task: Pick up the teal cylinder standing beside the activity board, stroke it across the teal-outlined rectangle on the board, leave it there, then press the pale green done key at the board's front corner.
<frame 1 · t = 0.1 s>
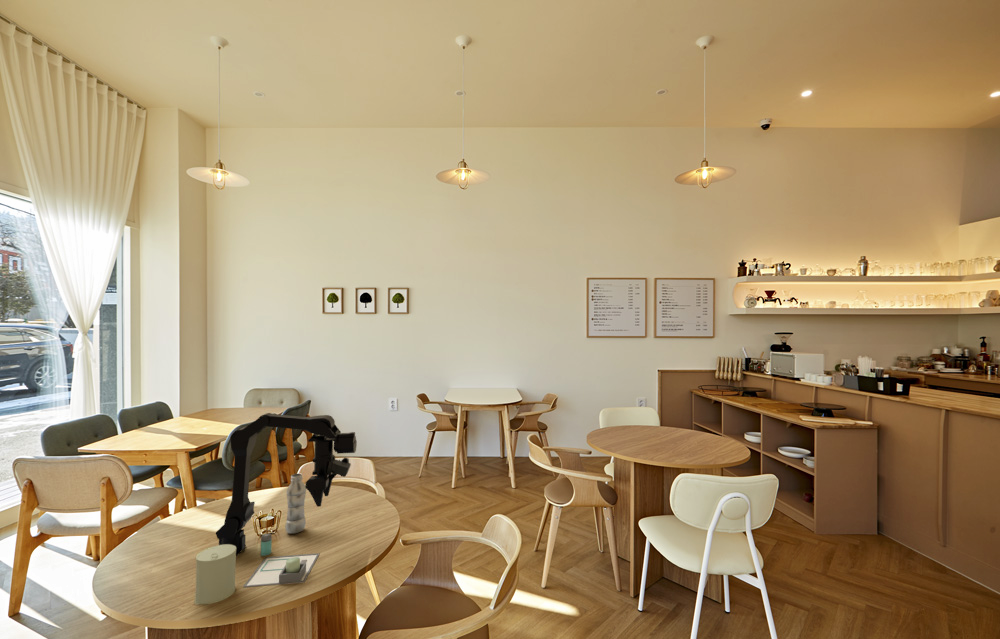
hand: (322, 501, 143), 15 cm above the table, tool pointing down, fingers open, 9 cm apart
done key: (292, 565, 122), point 4 cm above the table, slide at 0.0 cm
activity board: (283, 571, 127), on the table
teal cylinder: (266, 555, 136), on the table
plastic bottle: (295, 532, 152), on the table
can: (215, 596, 115), on the table
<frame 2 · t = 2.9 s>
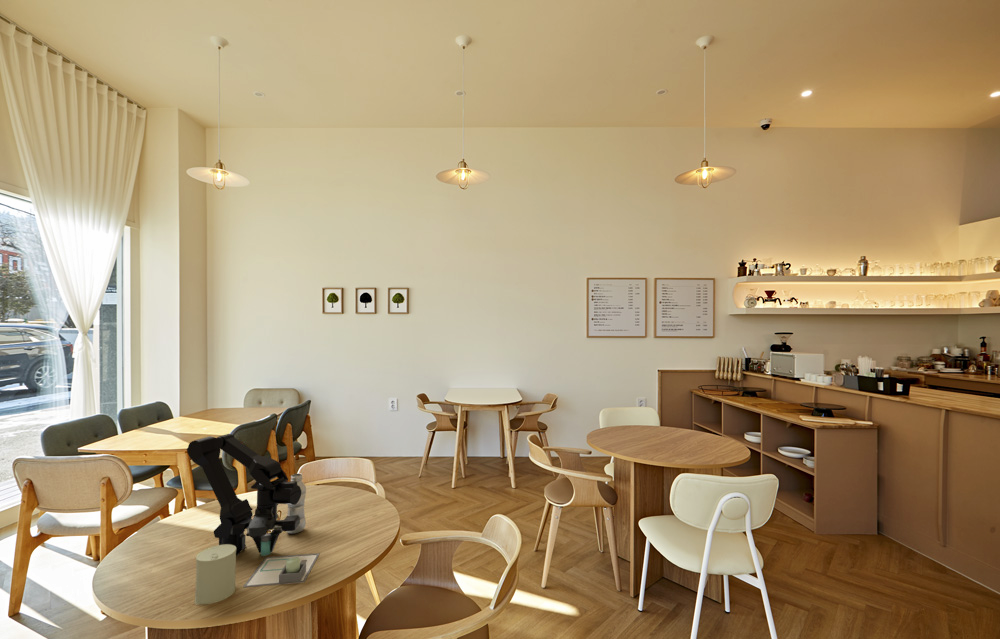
hand: (266, 551, 136), 1 cm above the table, tool pointing down, fingers closed on teal cylinder, 3 cm apart
teal cylinder: (266, 555, 136), on the table, touching gripper
everything else where it was.
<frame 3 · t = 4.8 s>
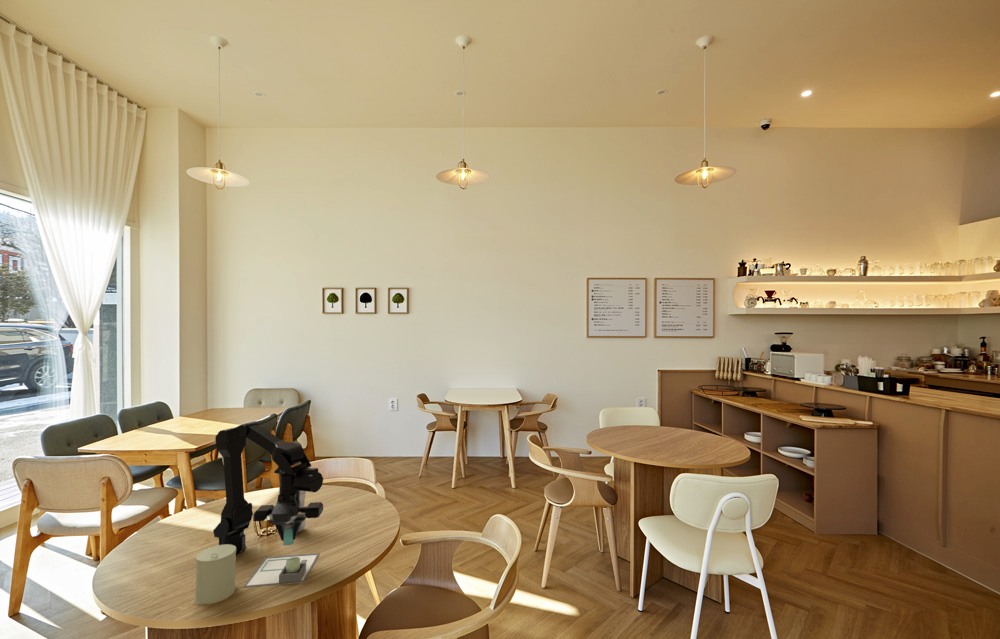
hand: (288, 539, 131), 7 cm above the table, tool pointing down, fingers closed on teal cylinder, 3 cm apart
teal cylinder: (288, 543, 131), point 6 cm above the table, touching gripper
everything else where it was.
when the fingers open (2 cm above the table, at t = 6.7 s): teal cylinder stays where it is, resting on activity board.
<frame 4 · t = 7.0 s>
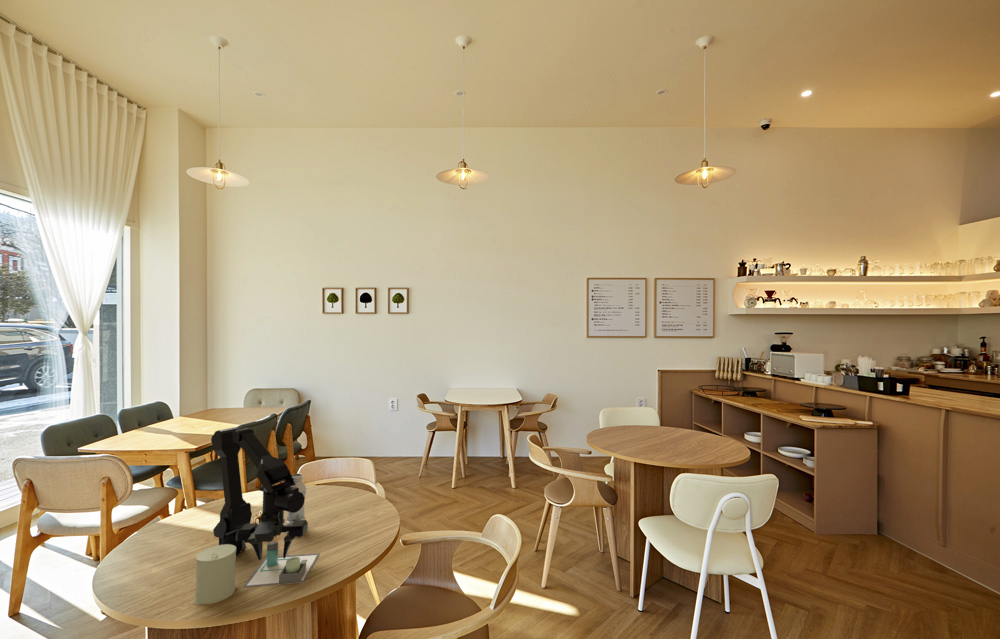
hand: (272, 558, 129), 2 cm above the table, tool pointing down, fingers open, 7 cm apart
teal cylinder: (272, 564, 129), point 1 cm above the table, touching activity board
everything else where it was.
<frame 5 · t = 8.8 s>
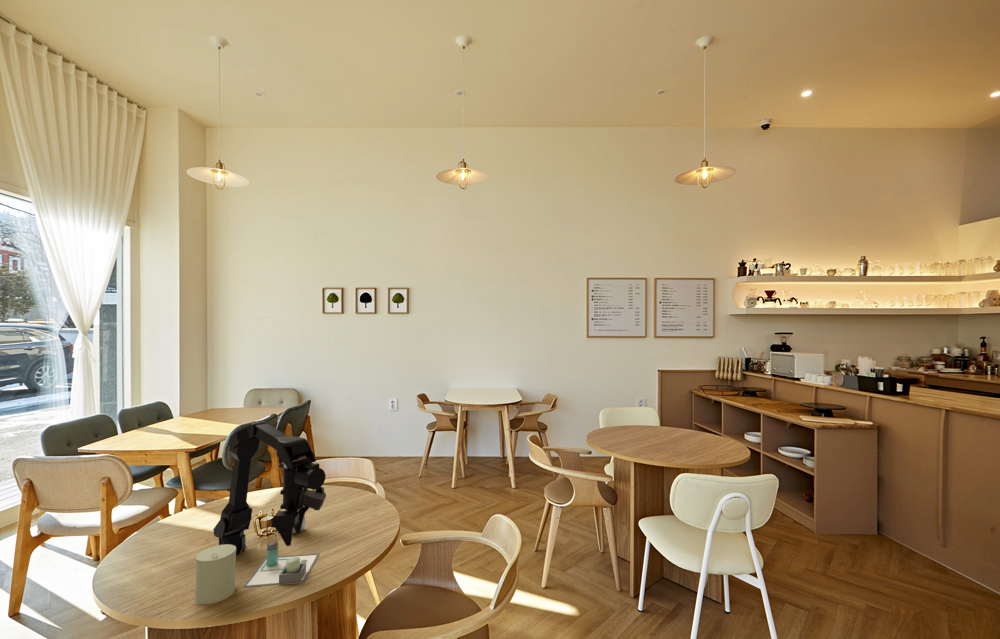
hand: (293, 539, 123), 11 cm above the table, tool pointing down, fingers open, 8 cm apart
nothing on the table moved.
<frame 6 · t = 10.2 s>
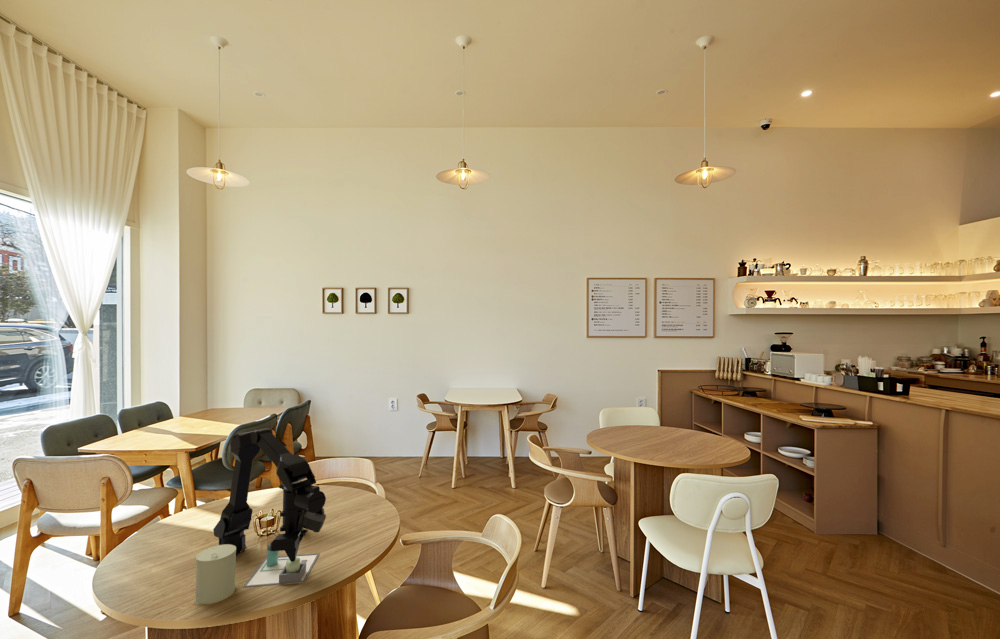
hand: (293, 560, 122), 5 cm above the table, tool pointing down, fingers closed, pressing on done key
done key: (292, 566, 122), point 4 cm above the table, slide at 0.1 cm, touching gripper
everything else where it was.
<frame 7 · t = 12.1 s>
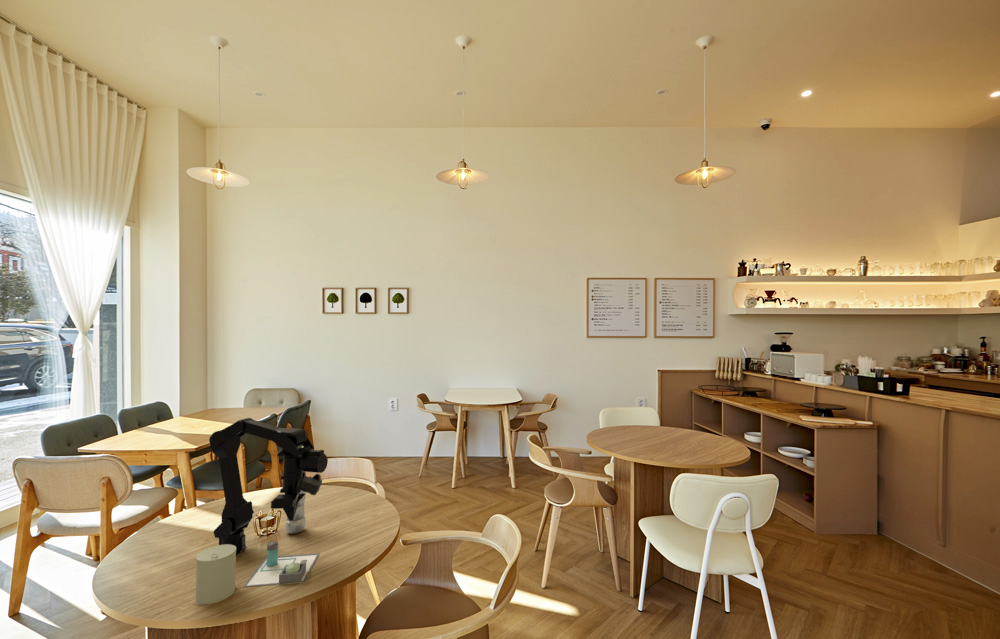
hand: (291, 520, 135), 12 cm above the table, tool pointing down, fingers closed
done key: (292, 571, 122), point 2 cm above the table, slide at 1.5 cm
everything else where it was.
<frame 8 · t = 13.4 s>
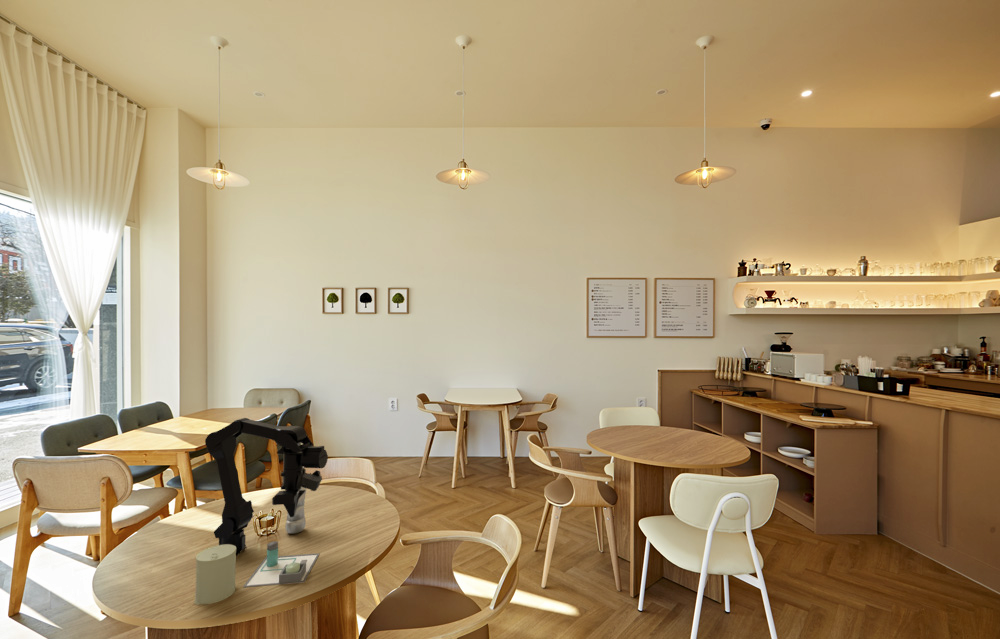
hand: (292, 516, 137), 12 cm above the table, tool pointing down, fingers closed
nothing on the table moved.
at the end: teal cylinder inside the target area (2.1 cm from its centre), point 0.6 cm above the table; done key slide at 1.5 cm; the gripper is holding nothing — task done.
